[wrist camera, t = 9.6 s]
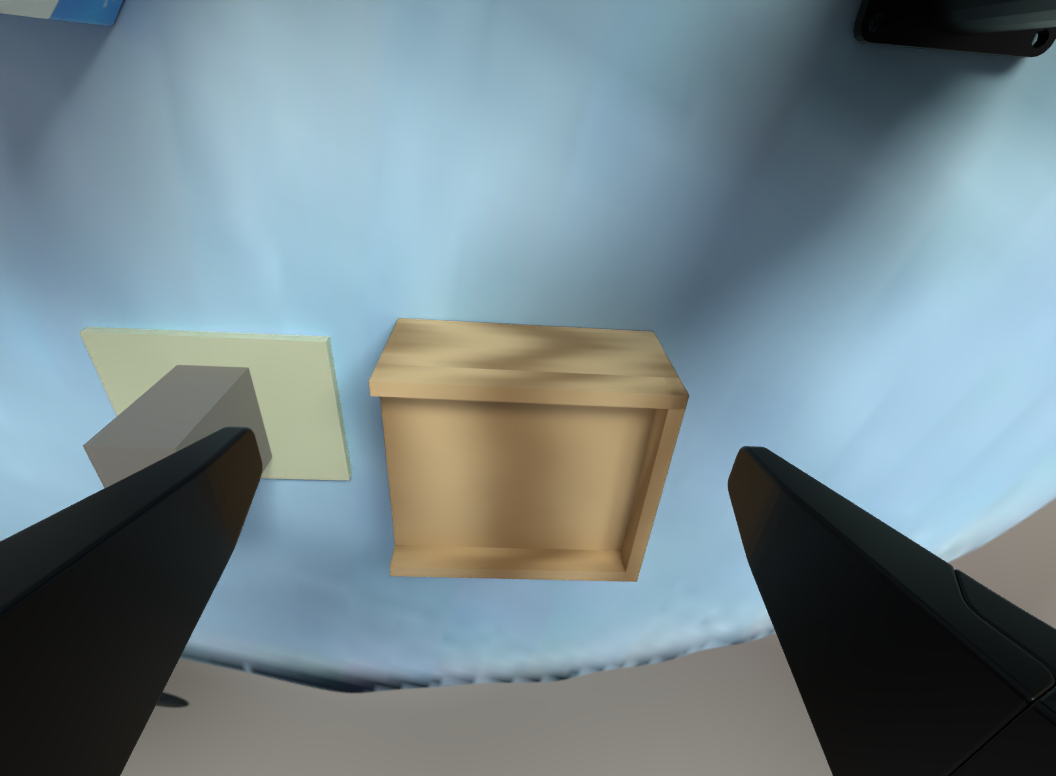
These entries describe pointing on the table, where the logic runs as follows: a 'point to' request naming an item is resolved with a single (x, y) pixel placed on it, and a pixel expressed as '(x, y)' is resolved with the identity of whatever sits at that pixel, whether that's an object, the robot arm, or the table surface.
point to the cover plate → (276, 380)
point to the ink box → (65, 10)
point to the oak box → (525, 448)
